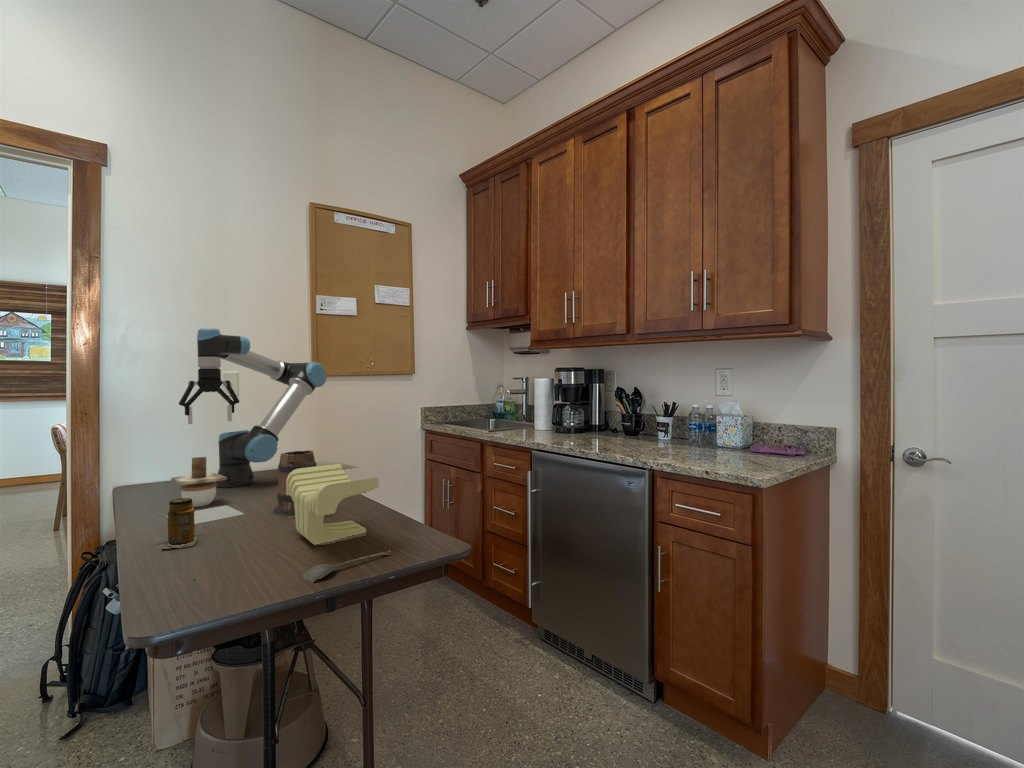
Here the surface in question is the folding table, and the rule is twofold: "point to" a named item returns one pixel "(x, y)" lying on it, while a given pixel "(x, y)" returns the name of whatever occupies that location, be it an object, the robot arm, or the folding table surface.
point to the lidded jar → (199, 493)
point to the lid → (198, 474)
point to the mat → (214, 514)
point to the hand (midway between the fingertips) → (210, 422)
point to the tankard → (285, 467)
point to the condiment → (181, 521)
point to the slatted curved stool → (324, 501)
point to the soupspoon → (328, 568)
